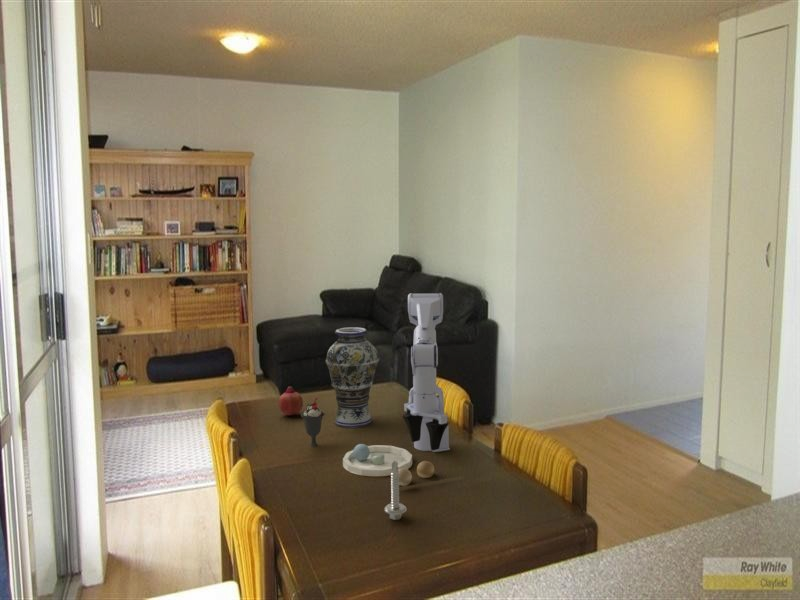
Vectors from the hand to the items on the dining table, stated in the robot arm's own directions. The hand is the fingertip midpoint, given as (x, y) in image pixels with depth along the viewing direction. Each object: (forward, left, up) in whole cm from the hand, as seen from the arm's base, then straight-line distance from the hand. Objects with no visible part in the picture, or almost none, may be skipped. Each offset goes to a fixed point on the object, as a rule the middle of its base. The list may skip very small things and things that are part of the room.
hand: (425, 445), depth 166 cm
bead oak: (0, 0, -9) cm, 9 cm away
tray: (+8, -13, -9) cm, 18 cm away
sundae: (+20, -33, -9) cm, 40 cm away
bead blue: (+11, -16, -8) cm, 21 cm away
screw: (+15, +17, -9) cm, 24 cm away
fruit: (+19, -66, -9) cm, 69 cm away
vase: (+2, -51, -9) cm, 52 cm away
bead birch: (+7, +2, -9) cm, 11 cm away
